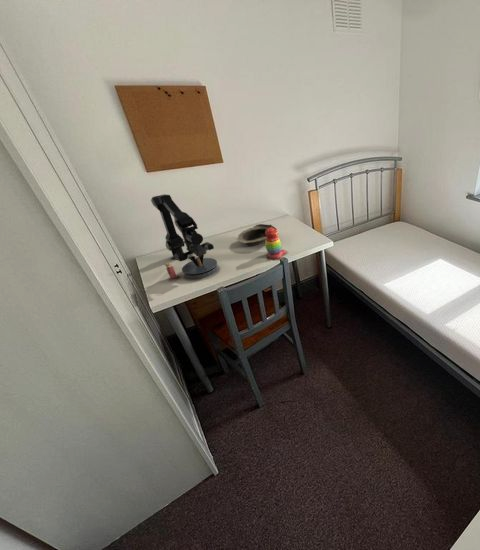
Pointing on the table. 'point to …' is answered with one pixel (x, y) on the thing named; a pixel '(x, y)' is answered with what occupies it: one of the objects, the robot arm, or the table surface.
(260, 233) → the stone bowl
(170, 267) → the doll
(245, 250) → the table surface
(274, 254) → the stacking bear
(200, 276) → the pan
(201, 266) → the lid
